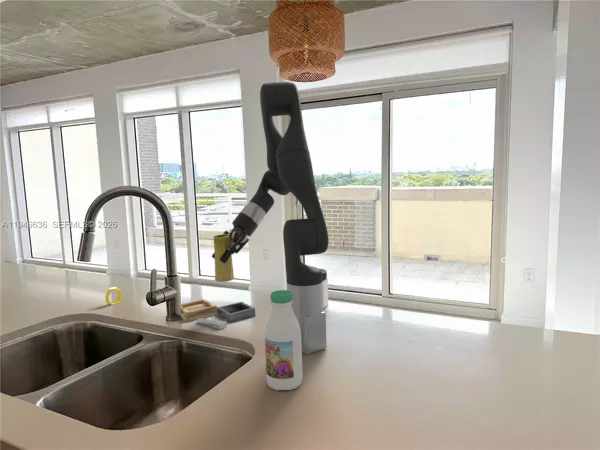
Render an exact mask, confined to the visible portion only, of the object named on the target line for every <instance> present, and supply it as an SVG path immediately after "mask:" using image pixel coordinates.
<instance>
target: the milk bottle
mask: <svg viewBox="0 0 600 450" xmlns="http://www.w3.org/2000/svg"><path fill="white" fill-rule="evenodd" d="M292 299H293V296H292V292H290V291H287V289H286V290H285V289H284V290H283V289H279V290H274V291H272V292H270V305H271V310H270V315H269V317H268V320H267V322H266V324H265V331H264V347H265V348H264V349H265V370H266V371H265V373H266V374H265V375H266V377H265V378H266V383H267V385H268V387H269V388H270V387H271V388H270V389H272V388H273V389H272V390H274V389H275V391H278V390H289V391H292V389H293V390H295V389H298V388H299V387H300V386H301V385H302V383H303V353H302V348H301V331H300V326H299V323H298V320H297V318H296V316H295V314H294V312H293V309H292V303H293V301H292Z"/></svg>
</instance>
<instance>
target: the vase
mask: <svg viewBox="0 0 600 450" xmlns="http://www.w3.org/2000/svg"><path fill="white" fill-rule="evenodd" d="M229 242H230V235H227V234H224V233H223V234H216V235H213V247H214V252H215V259H214V280H215V281H216V282H218V283H219V282H220V283H222V282H223V283H224V282H226V283H227V282H231V281H233V280H234V279H235V276H234V275H235V274H234V266H233V256H232V255H233V254H232V255H231V256H230V258H229V259H228V260H227V262H226V263H223V262H222V261H220V257H221V256H222V255H223V253H224V252H225V251H226V250H227V248H228V246H229ZM214 252H213V253H214Z"/></svg>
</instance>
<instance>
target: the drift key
mask: <svg viewBox="0 0 600 450" xmlns="http://www.w3.org/2000/svg"><path fill="white" fill-rule="evenodd" d="M195 321H196V322H195V323H196V324H199V325H203V326H207V327H210V328H211V327H212V328H213V329H216V330H223V329H224V328H227V327H228V321H224V320H212V319H208V318H205V317H203V318H199V319H195Z"/></svg>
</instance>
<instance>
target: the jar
mask: <svg viewBox="0 0 600 450" xmlns="http://www.w3.org/2000/svg"><path fill="white" fill-rule="evenodd" d="M319 269H320V270H321V271H322V275H323V310H325V308H326V307H328V305H329V278H328V273H327V270H326V269H323V268H319Z"/></svg>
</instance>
